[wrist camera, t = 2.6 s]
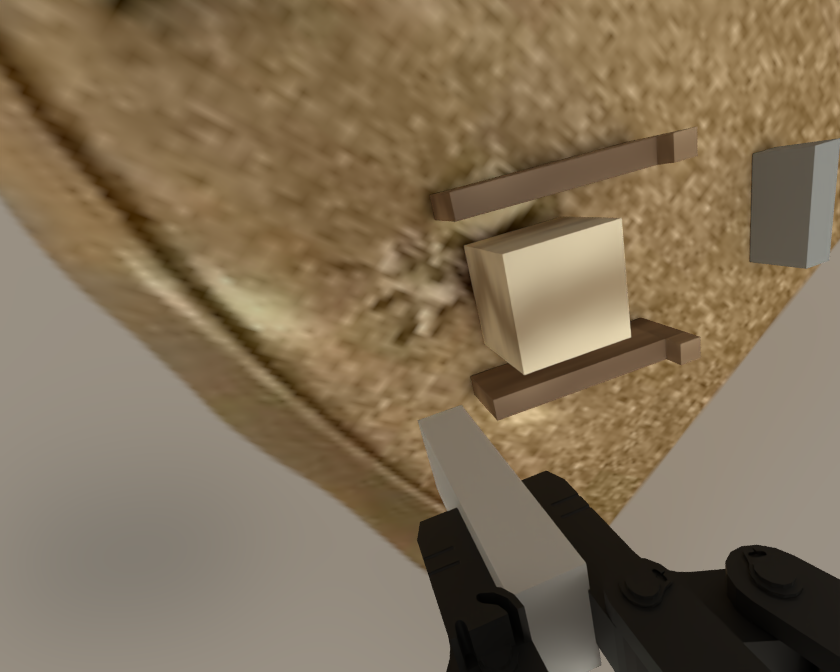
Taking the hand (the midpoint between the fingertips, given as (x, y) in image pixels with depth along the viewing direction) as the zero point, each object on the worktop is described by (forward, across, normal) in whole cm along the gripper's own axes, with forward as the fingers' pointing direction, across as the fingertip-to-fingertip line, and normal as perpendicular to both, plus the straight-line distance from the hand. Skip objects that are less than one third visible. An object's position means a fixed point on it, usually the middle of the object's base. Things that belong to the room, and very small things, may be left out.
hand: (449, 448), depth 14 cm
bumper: (+14, +30, 0) cm, 33 cm away
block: (+15, +10, 0) cm, 18 cm away
